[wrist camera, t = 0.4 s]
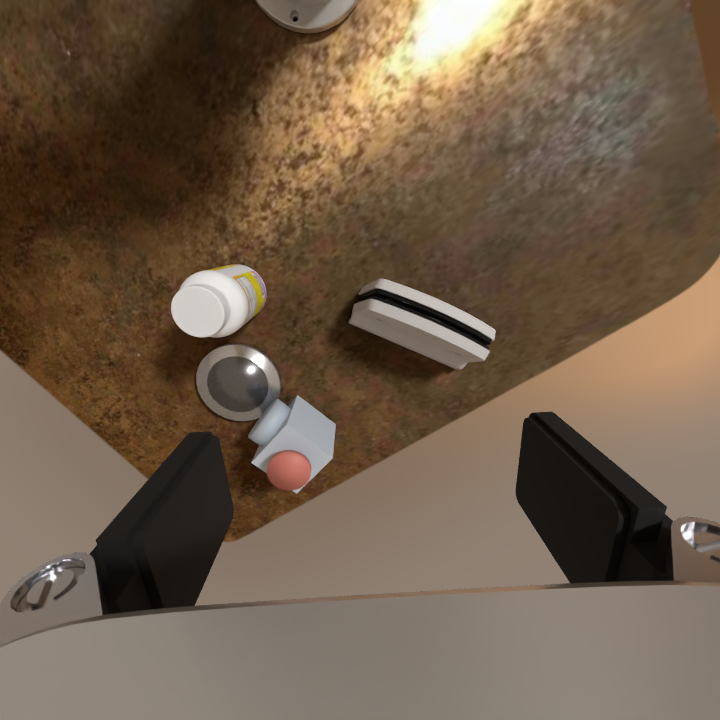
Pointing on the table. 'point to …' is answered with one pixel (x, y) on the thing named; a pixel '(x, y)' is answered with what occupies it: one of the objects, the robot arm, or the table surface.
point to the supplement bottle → (218, 301)
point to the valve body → (292, 443)
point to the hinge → (422, 323)
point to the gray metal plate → (238, 381)
